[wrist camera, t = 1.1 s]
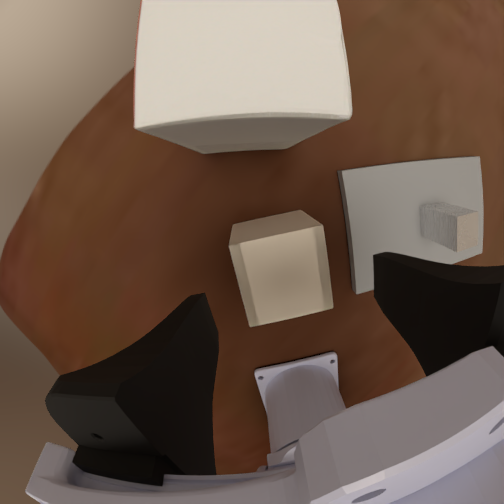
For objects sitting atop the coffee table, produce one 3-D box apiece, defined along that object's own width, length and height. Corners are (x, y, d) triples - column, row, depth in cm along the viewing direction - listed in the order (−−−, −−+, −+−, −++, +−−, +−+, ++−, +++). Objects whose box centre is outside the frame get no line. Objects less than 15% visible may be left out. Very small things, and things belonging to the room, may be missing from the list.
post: (441, 230, 20) (477, 244, 15) (420, 235, 20) (456, 252, 15) (440, 201, 19) (478, 211, 14) (418, 205, 19) (457, 216, 14)
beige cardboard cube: (311, 273, 22) (333, 308, 16) (248, 287, 22) (249, 327, 16) (300, 209, 20) (322, 225, 14) (232, 224, 20) (228, 245, 15)
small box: (196, 59, 17) (147, -50, 4) (280, 54, 17) (320, -59, 4) (200, 156, 19) (129, 133, 6) (287, 151, 19) (360, 119, 6)
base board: (476, 250, 22) (482, 252, 21) (352, 289, 22) (356, 294, 21) (473, 156, 19) (479, 156, 18) (337, 171, 19) (341, 171, 18)
